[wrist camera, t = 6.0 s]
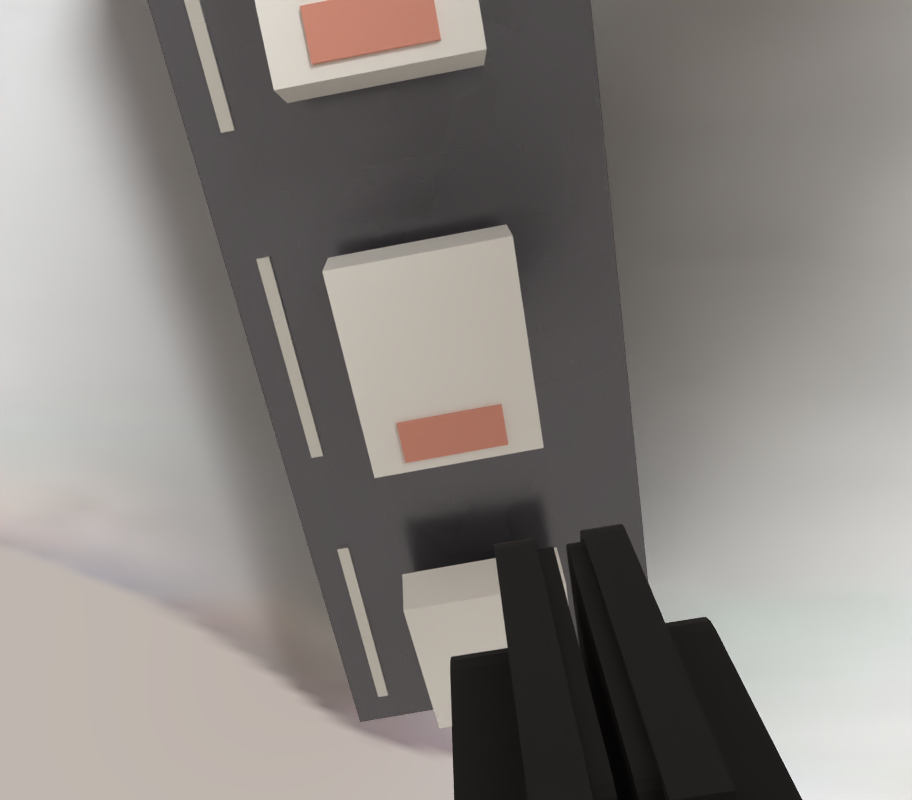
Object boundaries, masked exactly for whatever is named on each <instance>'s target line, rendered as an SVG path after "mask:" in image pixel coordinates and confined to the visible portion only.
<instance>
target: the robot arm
mask: <svg viewBox="0 0 912 800" xmlns="http://www.w3.org/2000/svg"><path fill="white" fill-rule="evenodd" d="M580 541H581V542H576V543H569V544H566V552H567V559H568V567H569V574H570V581H571V589H572V596H573V604H574V611H575V618H576V626H577V633H578V640H579V644H578V640H577V636H576V632H575V629H574V625H573V621H572V617H571V613H570V609H569V605H568V601H567V597H566V594H565V590H564V586H563V582H562V578H561V574H560V570H559V566H558V562H557V559H556V555H555V551H554V547H553V546H551V547H545V548H538V549H537V545H536V541H535V538H529V539H523V540H517V541H511V542H505V543H498V544H494V549H495V557H496V564H497V572H498V579H499V587H500V594H501V602H502V609H503V617H504V624H505V632H506V639H507V647H508V648H503V649H497V650H491V651H484V652H478V653H471V654H465V655H459V656H452V657H451V660H450V683H451V713H452V743H453V771H454V772H453V773H454V800H802V798H801V796H800V795H799V793H798V791H797V789H796V787H795V785H794V783H793V781H792V779H791V777H790V775H789V773H788V771H787V769H786V767H785V765H784V763H783V761H782V759H781V757H780V755H779V753H778V751H777V749H776V747H775V745H774V743H773V741H772V739H771V737H770V735H769V734H768V732H767V730H766V728H765V726H764V724H763V722H762V720H761V718H760V716H759V714H758V712H757V710H756V708H755V706H754V704H753V702H752V700H751V698H750V696H749V694H748V692H747V690H746V688H745V686H744V684H743V682H742V680H741V678H740V676H739V674H738V673H737V671H736V669H735V667H734V665H733V663H732V661H731V659H730V657H729V655H728V653H727V651H726V649H725V647H724V645H723V643H722V641H721V639H720V637H719V635H718V633H717V631H716V629H715V628H714V626H713V624H712V623H711V621H710V620H709V619H708V618H706V617H702V618H695V619H689V620H683V621H676V622H670V623H665V622H664V619H663V617H662V614H661V612H660V610H659V607H658V605H657V603H656V600H655V598H654V596H653V593H652V591H651V588H650V586H649V584H648V581H647V579H646V577H645V574H644V572H643V570H642V567H641V565H640V562H639V560H638V558H637V555H636V553H635V551H634V548H633V546H632V544H631V541H630V539H629V536H628V534H627V532H626V529H625V527H624V526H623V524H616V525H610V526H604V527H597V528H591V529H585V530H580Z"/></svg>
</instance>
